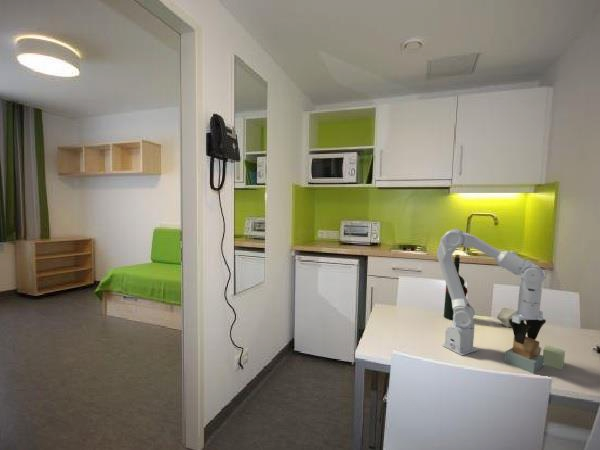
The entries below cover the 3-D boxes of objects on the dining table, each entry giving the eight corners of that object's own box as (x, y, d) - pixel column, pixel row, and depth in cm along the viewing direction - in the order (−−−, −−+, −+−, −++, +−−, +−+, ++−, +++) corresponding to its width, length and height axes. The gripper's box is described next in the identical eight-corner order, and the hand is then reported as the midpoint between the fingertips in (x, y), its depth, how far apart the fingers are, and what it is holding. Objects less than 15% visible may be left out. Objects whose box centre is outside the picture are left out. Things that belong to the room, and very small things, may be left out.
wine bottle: (469, 323, 132) (474, 257, 130) (445, 319, 135) (449, 255, 133) (465, 316, 140) (470, 254, 137) (442, 313, 143) (446, 252, 140)
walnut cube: (529, 359, 94) (530, 344, 94) (512, 351, 99) (513, 337, 99) (538, 356, 96) (539, 341, 96) (521, 349, 101) (522, 335, 101)
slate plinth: (533, 374, 93) (534, 362, 92) (504, 362, 99) (505, 351, 99) (542, 367, 97) (543, 355, 97) (514, 356, 104) (515, 345, 103)
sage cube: (561, 369, 96) (563, 355, 95) (542, 363, 99) (543, 349, 99) (563, 364, 99) (565, 350, 99) (544, 358, 103) (546, 344, 102)
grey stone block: (493, 326, 131) (507, 314, 125) (492, 311, 138) (505, 299, 131) (512, 334, 130) (527, 323, 123) (510, 319, 136) (524, 308, 130)
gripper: (531, 307, 90) (527, 350, 91) (555, 301, 96) (551, 341, 97) (506, 300, 96) (503, 340, 97) (530, 295, 102) (526, 333, 104)
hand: (525, 340), depth 98 cm, fingers open, 7 cm apart
